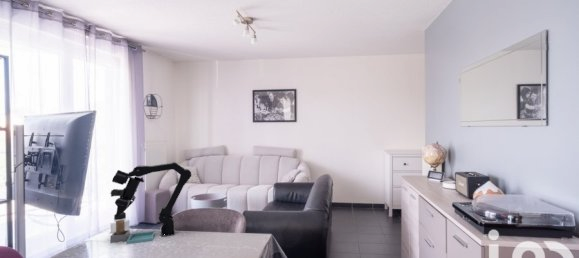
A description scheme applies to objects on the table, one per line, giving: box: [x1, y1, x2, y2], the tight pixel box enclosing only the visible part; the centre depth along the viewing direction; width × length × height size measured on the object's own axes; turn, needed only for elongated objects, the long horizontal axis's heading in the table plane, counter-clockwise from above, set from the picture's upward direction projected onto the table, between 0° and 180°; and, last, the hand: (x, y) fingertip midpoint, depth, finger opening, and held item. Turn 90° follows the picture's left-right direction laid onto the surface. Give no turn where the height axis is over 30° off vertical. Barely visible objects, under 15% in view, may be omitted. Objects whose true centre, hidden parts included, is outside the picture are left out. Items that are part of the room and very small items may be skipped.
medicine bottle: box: [110, 211, 130, 234], centre depth 171 cm, size 7×7×12 cm
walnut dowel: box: [116, 220, 125, 235], centre depth 156 cm, size 4×4×10 cm
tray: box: [126, 231, 156, 245], centre depth 157 cm, size 12×12×2 cm
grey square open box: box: [110, 229, 131, 244], centre depth 156 cm, size 8×8×4 cm
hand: (119, 214), depth 157 cm, fingers open, 9 cm apart
